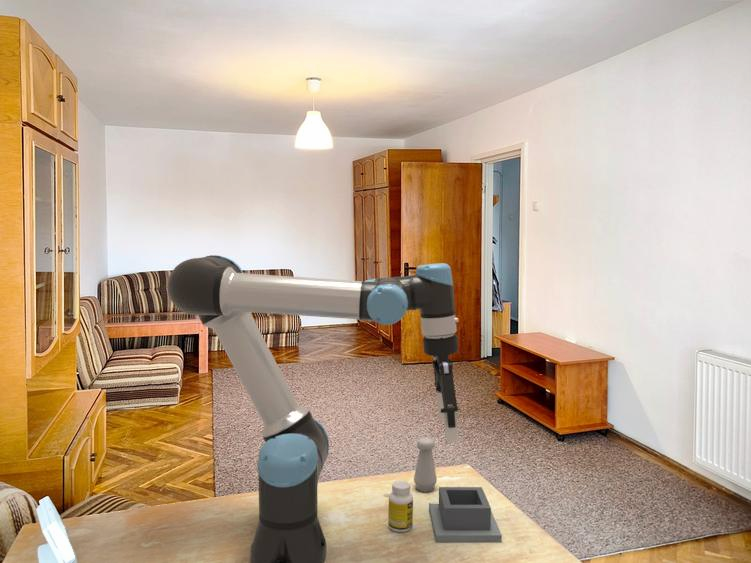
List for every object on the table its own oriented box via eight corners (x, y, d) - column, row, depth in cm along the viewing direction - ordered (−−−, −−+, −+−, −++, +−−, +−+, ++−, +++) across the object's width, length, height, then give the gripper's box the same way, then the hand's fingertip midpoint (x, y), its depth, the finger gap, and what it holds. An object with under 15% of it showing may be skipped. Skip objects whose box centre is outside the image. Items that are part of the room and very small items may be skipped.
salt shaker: (440, 486, 146) (441, 438, 145) (430, 495, 141) (431, 445, 140) (420, 481, 149) (420, 433, 148) (409, 489, 144) (410, 440, 143)
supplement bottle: (410, 534, 123) (411, 491, 122) (386, 531, 124) (386, 488, 123) (414, 521, 128) (414, 480, 127) (390, 519, 129) (391, 478, 128)
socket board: (435, 542, 120) (436, 512, 119) (428, 509, 134) (429, 483, 133) (501, 542, 120) (502, 512, 119) (487, 509, 134) (488, 483, 133)
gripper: (466, 344, 110) (475, 449, 112) (449, 323, 135) (457, 410, 136) (427, 348, 110) (437, 453, 112) (418, 327, 135) (426, 413, 137)
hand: (448, 430), depth 124 cm, fingers open, 13 cm apart
